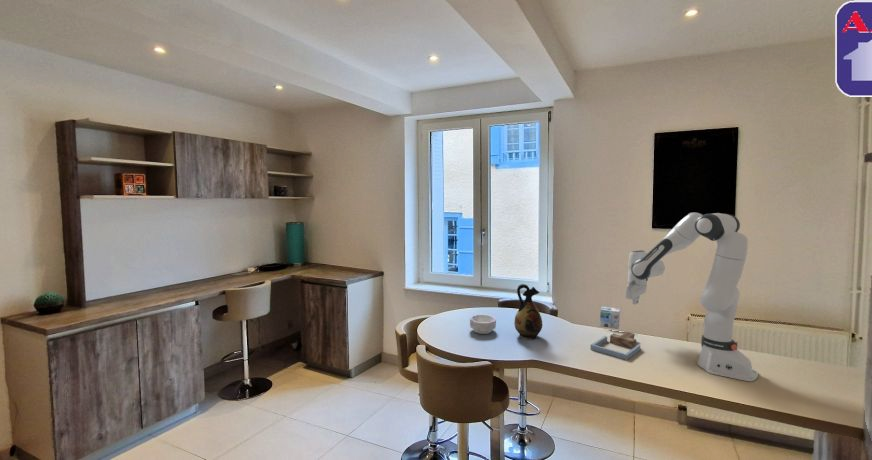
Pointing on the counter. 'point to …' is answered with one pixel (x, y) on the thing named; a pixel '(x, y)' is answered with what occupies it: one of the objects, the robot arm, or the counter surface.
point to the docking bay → (596, 347)
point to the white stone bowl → (482, 323)
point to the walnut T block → (624, 339)
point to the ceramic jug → (528, 315)
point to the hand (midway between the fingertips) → (635, 303)
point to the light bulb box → (609, 317)
